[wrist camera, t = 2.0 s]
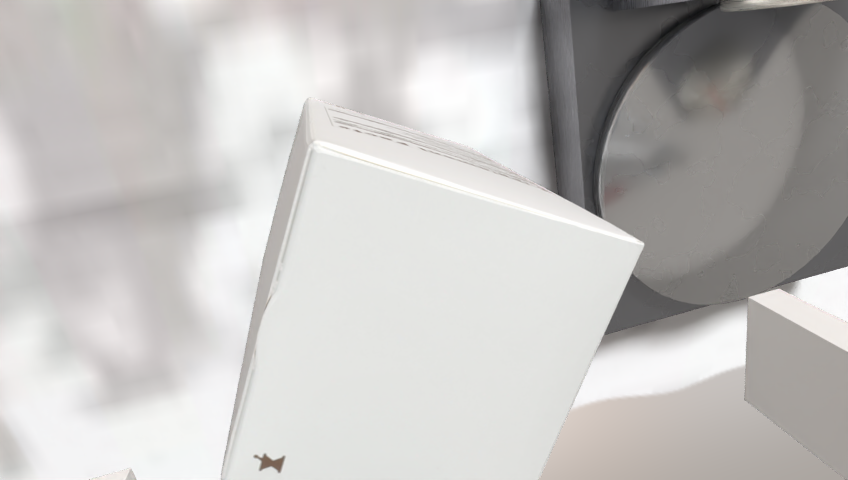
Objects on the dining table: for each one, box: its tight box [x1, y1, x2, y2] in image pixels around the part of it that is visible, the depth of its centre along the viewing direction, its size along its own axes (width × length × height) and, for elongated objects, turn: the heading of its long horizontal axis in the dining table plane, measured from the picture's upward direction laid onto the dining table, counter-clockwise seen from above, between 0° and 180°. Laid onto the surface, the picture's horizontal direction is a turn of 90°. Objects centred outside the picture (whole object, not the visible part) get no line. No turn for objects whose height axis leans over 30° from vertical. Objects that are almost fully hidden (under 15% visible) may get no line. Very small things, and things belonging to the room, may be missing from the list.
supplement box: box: [221, 98, 644, 480], centre depth 20 cm, size 9×9×15 cm
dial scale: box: [540, 0, 848, 335], centre depth 22 cm, size 16×18×15 cm
